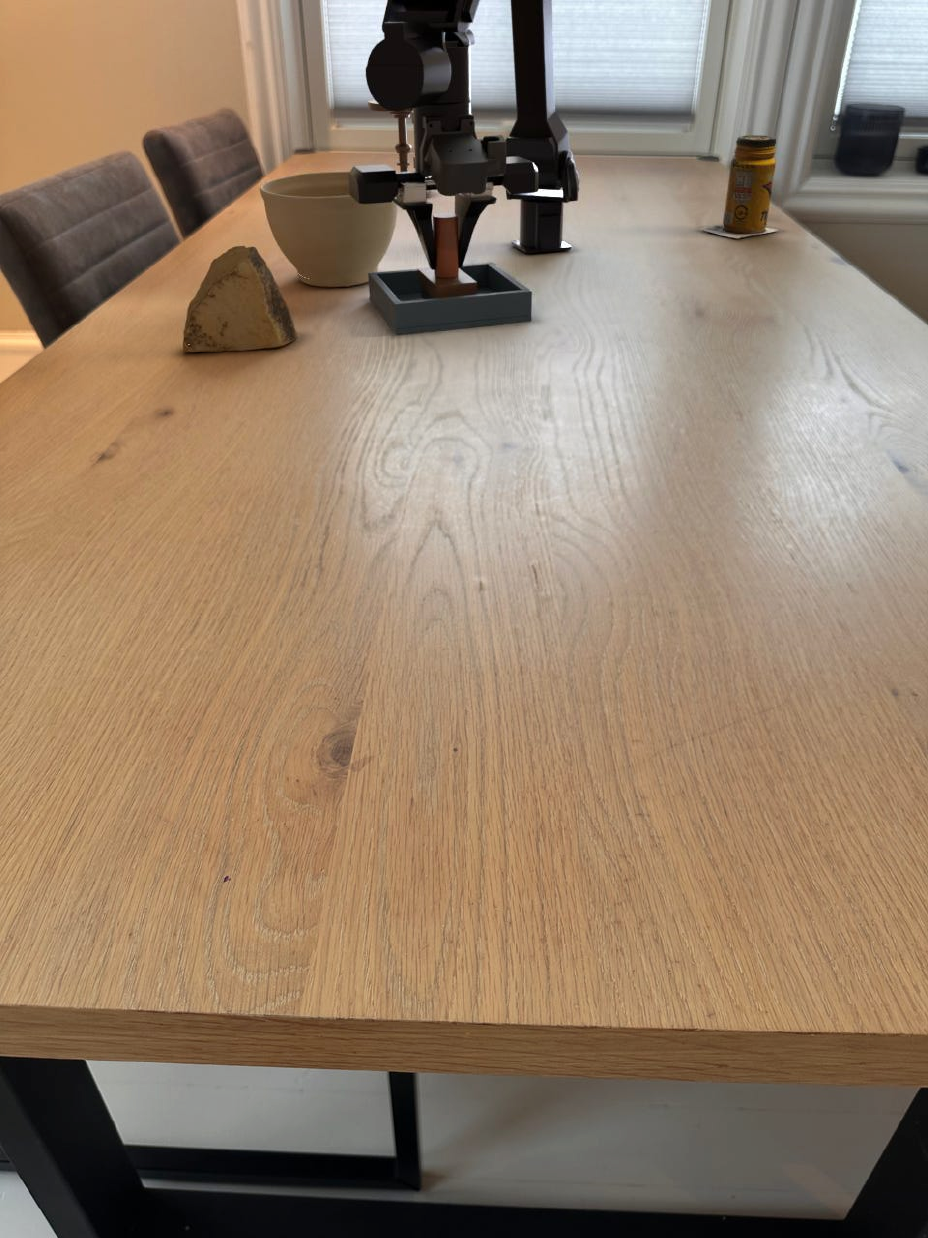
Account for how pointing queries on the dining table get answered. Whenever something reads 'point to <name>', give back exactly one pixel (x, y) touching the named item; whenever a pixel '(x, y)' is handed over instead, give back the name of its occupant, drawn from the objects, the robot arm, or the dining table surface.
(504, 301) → the tray
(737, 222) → the condiment
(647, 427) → the dining table surface
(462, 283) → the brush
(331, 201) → the planter bowl
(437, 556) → the dining table surface
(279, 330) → the rock
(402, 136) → the candlestick
